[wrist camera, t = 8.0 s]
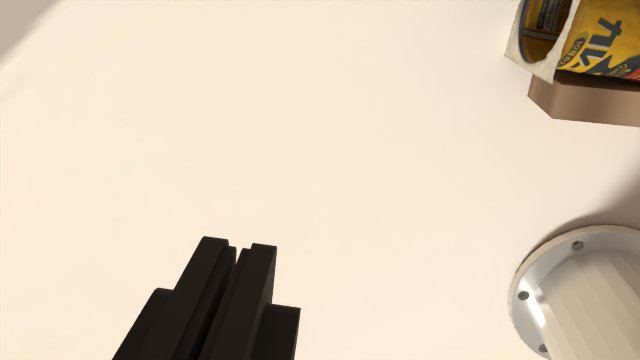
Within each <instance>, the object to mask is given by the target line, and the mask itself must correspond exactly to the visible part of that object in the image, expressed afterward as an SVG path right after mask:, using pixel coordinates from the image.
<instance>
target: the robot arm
mask: <svg viewBox="0 0 640 360" xmlns="http://www.w3.org/2000/svg"><path fill="white" fill-rule="evenodd" d="M276 255H277V246H271V245H264V244H257V243H253V244H252V246H251V249H247V248H243V249H242V251H241V253H240V256H239V258H238V261H237V263H236V247H233V246H229V242H228V239H221V238H214V237H207V236H203V238H202V239H201V241H200V243H199V245H198V246H197V248H196V250H195V252H194V254H193V255H192V257H191V259H190V261H189V263H188V264H187V266H186V268H185V270H184V272H183V273H182V275H181V277H180V279H179V281H178V282H177V284H176V286H175V288H174V290H171V289H164V288H157V289H155V290H154V292H153V293H152V295H151V296H150V298H149V300H148V301H147V303H146V304H145V306H144V308H143V309H142V311H141V313H140V314H139V316H138V318H137V319H136V321H135V323H134V324H133V326H132V327H131V329H130V331H129V332H128V334H127V336H126V337H125V339H124V341H123V342H122V344H121V345H120V347H119V349H118V350H117V352H116V354H115V355H114V357H113V359H112V360H294V356H295V349H296V342H297V334H298V327H299V319H300V310H301V308H297V307H290V306H283V305H276V304H272V295H273V285H274V275H275V265H276ZM508 307H509V314H510V317H511V320H512V323H513V325H514V328H515V330H516V332H517V333H518V335H519V337H520V339H521V340H522V341H523V342H524V343H525V344H526V345H527V346H528V348H530V349H531V350H532V351H534V352H535V353H536V354H538V355H540V356H542V357H544V358H546V359H548V360H640V231H639V230H636V229H632V228H629V227H625V226H616V225H597V226H588V227H584V228H579V229H575V230H572V231H569V232H567V233H564V234H562V235H559V236H557V237H555V238H553V239H552V240H550V241H548V242H546V243H545V244H543V245H542V246H541V247H539V248H538V249H537V250H536V251H534V252H533V253H532V254H531V255H530V256H529V257H528V258H527V259H526V261H525V262H524V263H523V264H522V265H521V266H520V268H519V270H518V272H517V273H516V275H515V277H514V279H513V281H512V284H511V287H510V290H509V299H508Z"/></svg>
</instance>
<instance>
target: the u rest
mask: <svg viewBox="0 0 640 360" xmlns="http://www.w3.org/2000/svg"><path fill="white" fill-rule="evenodd" d="M528 97H529V98H530V99H531V100H532V101H533V102H535V103H536V104H537V105H538V106H539V107H540V108H541V109H542V110H543V111H545V112H546V113H547V114H548V115H549V116H550V117H551V118H552V119H561V120H571V121H582V122H592V123H602V124H612V125H623V126H633V127H640V82H634V81H629V80H622V79H613V78H608V77H605V76H595V75H591V74H586V73H576V72H573V71H569V70H563V69H562V70H561V69H555V73H554V76H553V84H550V83H548V82H547V81H545V80H543V79H541V78H540V77H538V76H536V75H534V74H533V76H532V80H531V84H530V88H529V92H528Z"/></svg>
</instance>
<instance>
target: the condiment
mask: <svg viewBox="0 0 640 360" xmlns="http://www.w3.org/2000/svg"><path fill="white" fill-rule="evenodd" d="M504 56H506V57H508V58H509V59H511V60H513V62H515V63H516V64H518V65H520V66H521V67H523V68H524V69H526V70H527V71H529V72H531V73H533V74H534V75H536V76H538V77H540V78H541V79H543V80H545V81H547V82H548V83H550V84H553V76H554V73H555V69H561V70H562V69H563V70H569V71H573V72H576V73H586V74H591V75H595V76H605V77H608V78H613V79H622V80H629V81H634V82H640V0H521V3H520V4H519V6H518V10H517V13H516V19H515V22H514V24H513V26H512V30H511V34H510V38H509V41H508V45H507V49H506V52H505V55H504Z"/></svg>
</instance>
